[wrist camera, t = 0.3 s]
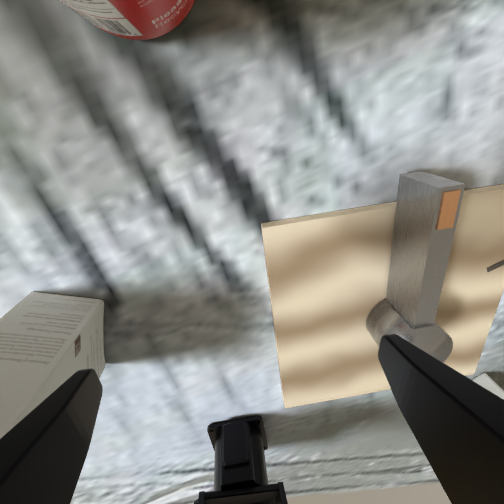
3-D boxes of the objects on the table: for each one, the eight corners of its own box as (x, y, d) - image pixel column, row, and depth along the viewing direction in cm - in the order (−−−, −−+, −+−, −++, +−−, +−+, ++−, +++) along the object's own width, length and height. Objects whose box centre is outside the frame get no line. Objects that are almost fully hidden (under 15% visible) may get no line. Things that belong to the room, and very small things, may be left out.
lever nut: (410, 351, 28) (441, 389, 24) (363, 359, 28) (385, 399, 24) (444, 167, 20) (499, 180, 16) (376, 178, 20) (415, 194, 16)
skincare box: (107, 364, 27) (-5, 610, 13) (38, 360, 26) (-157, 623, 12) (104, 293, 23) (-50, 533, 10) (24, 285, 22) (-269, 541, 9)
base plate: (467, 366, 32) (474, 374, 31) (283, 400, 32) (285, 409, 31) (528, 179, 22) (542, 182, 21) (260, 223, 22) (262, 228, 21)
